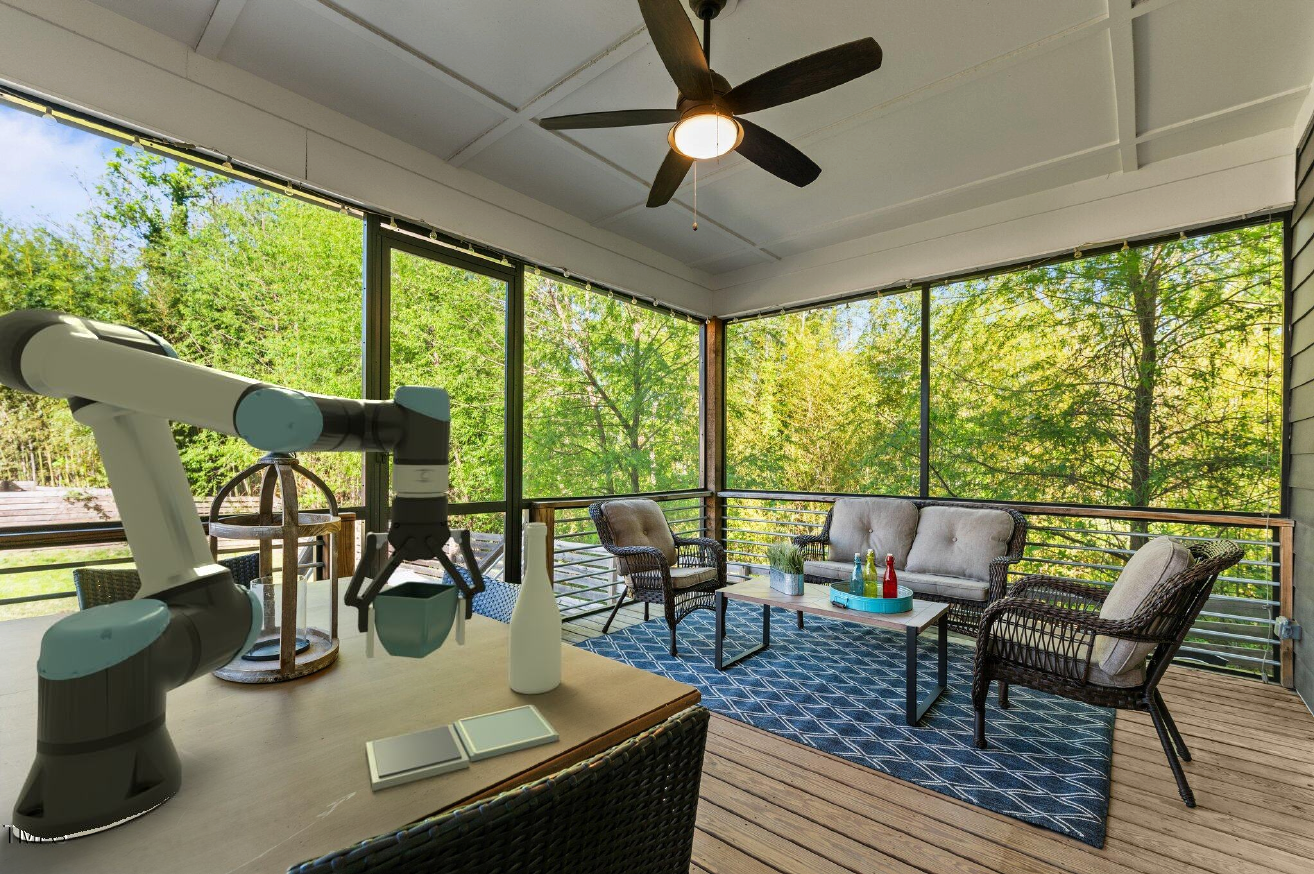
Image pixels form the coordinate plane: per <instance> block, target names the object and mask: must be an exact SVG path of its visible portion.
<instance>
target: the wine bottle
mask: <svg viewBox="0 0 1314 874" xmlns="http://www.w3.org/2000/svg"><path fill="white" fill-rule="evenodd" d="M526 535H527V536H528V537H527V539H528V541H527V566H526V571H525V574H524V578H523V581H522V584H521V585H520V586H521V587H520V590H519V593H518V596H517V599H516V602H515V605H514V607H513V610H512V611H511V612H512V613H511V615H510V616H511V617H510V620H509V625H508V626H509V633H508V637H509V638H508V639H509V640H508V643H509V645H508V647H509V648H508V684H509V687H510V688H511V689H512V691H514V692H516V693H519V694H522V695H523V694H525V695H540V694H544V693H548V692H550V691H552V690H555V688H557V687H558V686H559V685H560V682H561V679H562V627H563V625H562V624H563V623H562V615H561V612H560V609H559V606H558V602H557V600H556V597H555V594H554V590H553V587H552V584H551V581H550V577H549V574H548V569H547V556H546V555H547V554H546V553H547V550H546V549H547V545H546V544H547V542H546V541H547V540H546V539H547V538H546V537H547V535H548V526H547V524H546V523H545V522H537V521H536V522H529V523H528V526H527V527H526Z"/></svg>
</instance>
